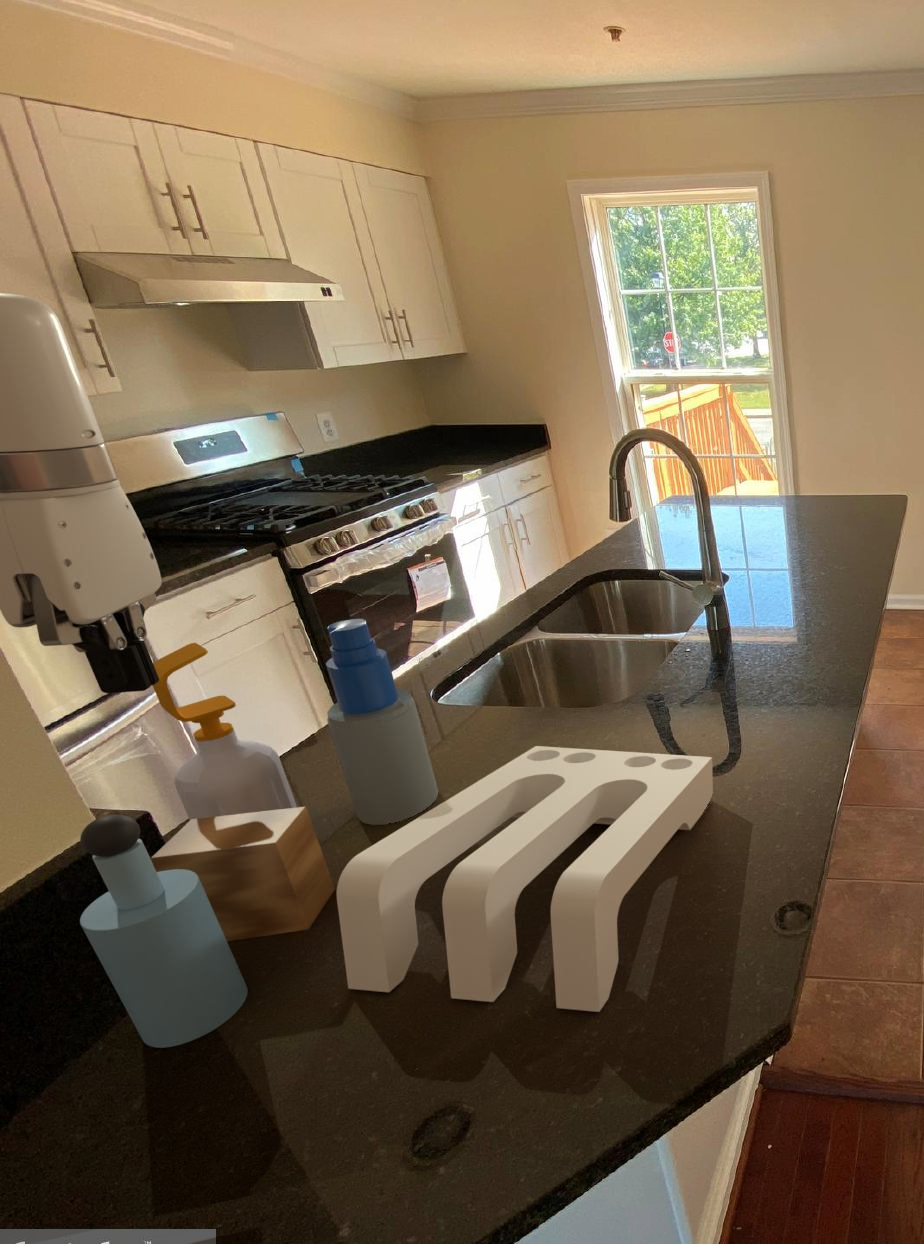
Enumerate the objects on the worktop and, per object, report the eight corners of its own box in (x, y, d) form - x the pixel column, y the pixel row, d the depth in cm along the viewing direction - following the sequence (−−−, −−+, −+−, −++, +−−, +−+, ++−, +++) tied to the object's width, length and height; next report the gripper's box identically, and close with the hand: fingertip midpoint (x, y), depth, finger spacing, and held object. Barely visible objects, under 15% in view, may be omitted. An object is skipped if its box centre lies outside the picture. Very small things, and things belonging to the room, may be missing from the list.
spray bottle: (426, 775, 98) (380, 605, 88) (448, 803, 92) (402, 624, 83) (349, 803, 92) (290, 623, 82) (368, 834, 86) (308, 645, 77)
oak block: (191, 947, 70) (149, 858, 66) (227, 903, 75) (190, 819, 71) (308, 929, 72) (275, 842, 68) (335, 889, 78) (306, 806, 74)
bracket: (712, 757, 93) (593, 890, 61) (713, 842, 95) (599, 1011, 64) (535, 746, 95) (333, 869, 63) (541, 829, 97) (348, 988, 66)
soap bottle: (316, 831, 87) (251, 646, 77) (221, 874, 80) (137, 675, 70) (284, 806, 91) (219, 628, 82) (192, 845, 84) (109, 655, 75)
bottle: (236, 1048, 63) (68, 970, 48) (143, 1063, 62) (-61, 987, 47) (289, 905, 72) (160, 802, 57) (208, 916, 70) (53, 812, 55)
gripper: (61, 456, 60) (139, 656, 67) (-123, 490, 46) (0, 735, 53) (168, 456, 62) (234, 651, 69) (21, 489, 48) (122, 726, 55)
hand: (131, 687), depth 61 cm, fingers closed
